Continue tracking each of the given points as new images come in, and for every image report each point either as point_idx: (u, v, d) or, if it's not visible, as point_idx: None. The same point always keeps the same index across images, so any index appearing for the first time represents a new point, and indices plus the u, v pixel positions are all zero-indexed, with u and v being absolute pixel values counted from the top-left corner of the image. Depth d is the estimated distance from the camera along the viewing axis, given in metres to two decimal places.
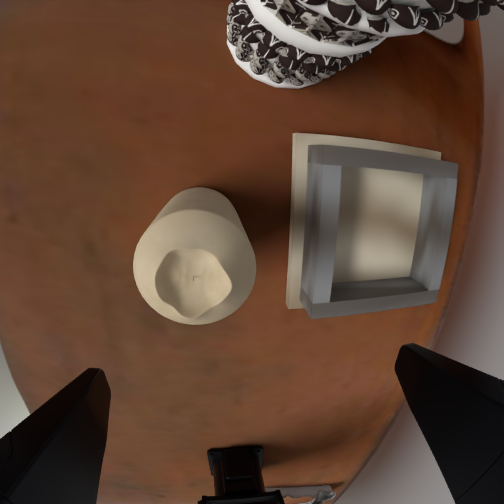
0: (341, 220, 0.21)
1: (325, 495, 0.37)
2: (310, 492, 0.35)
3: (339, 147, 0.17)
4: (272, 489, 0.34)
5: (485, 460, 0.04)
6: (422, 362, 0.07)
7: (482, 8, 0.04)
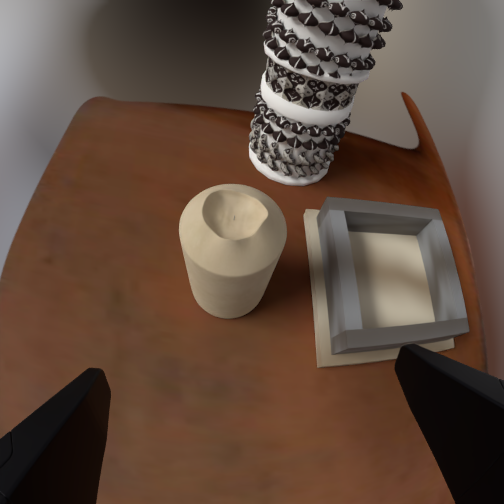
0: (356, 275, 0.23)
1: None
2: None
3: (339, 198, 0.23)
4: None
5: (485, 460, 0.04)
6: (422, 362, 0.07)
7: (376, 42, 0.15)
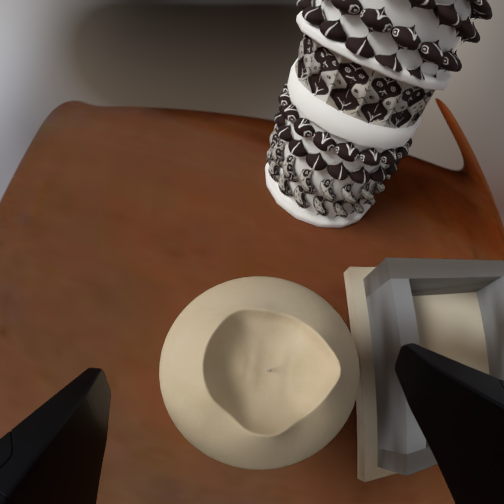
0: None
1: None
2: None
3: (401, 259, 0.15)
4: None
5: (485, 460, 0.04)
6: (422, 362, 0.07)
7: None
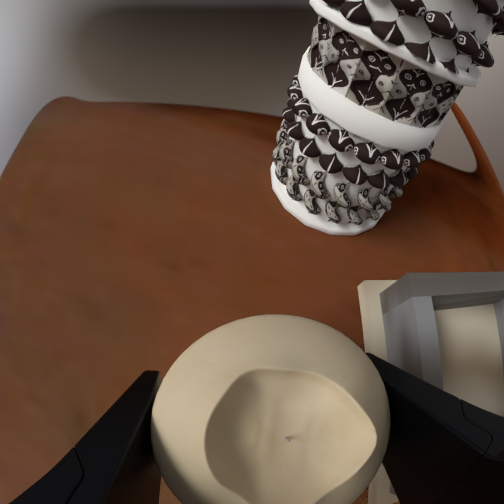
0: None
1: None
2: None
3: (423, 274, 0.13)
4: None
5: (439, 488, 0.04)
6: None
7: None
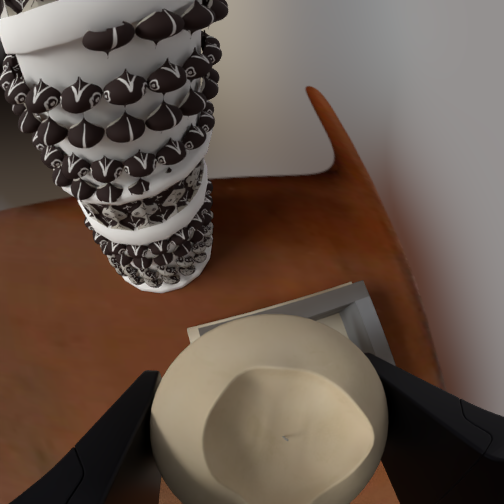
0: None
1: None
2: None
3: (214, 325, 0.18)
4: None
5: (439, 488, 0.04)
6: None
7: (187, 105, 0.10)
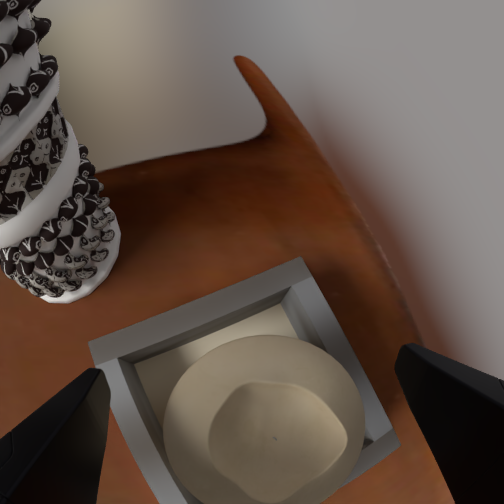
0: None
1: None
2: None
3: (106, 337, 0.13)
4: None
5: (485, 460, 0.04)
6: (422, 362, 0.07)
7: None
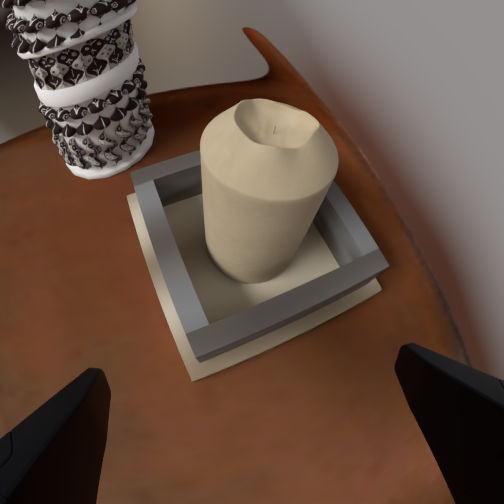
0: (204, 250, 0.18)
1: None
2: None
3: (145, 168, 0.17)
4: None
5: (485, 460, 0.04)
6: (422, 362, 0.07)
7: None
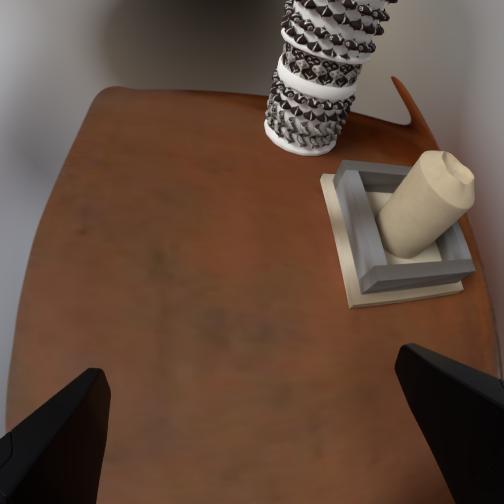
0: None
1: None
2: None
3: (352, 161, 0.25)
4: None
5: (485, 460, 0.04)
6: (422, 362, 0.07)
7: (377, 29, 0.18)
